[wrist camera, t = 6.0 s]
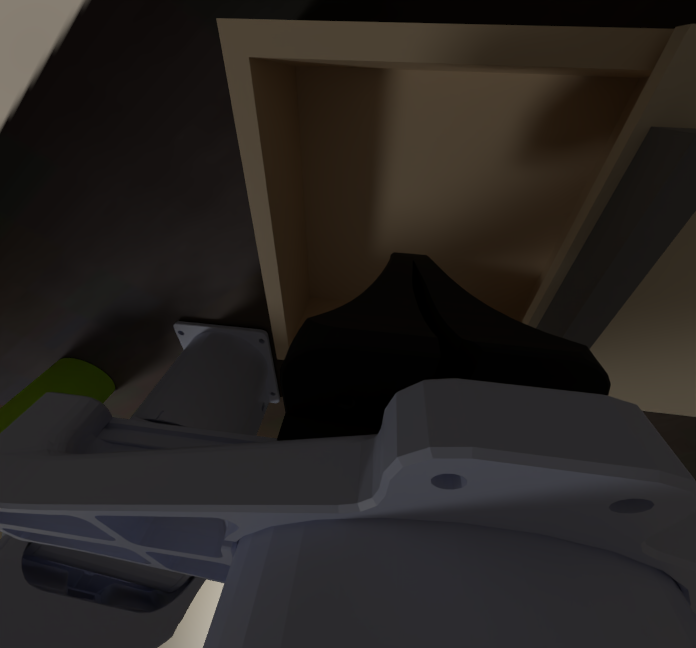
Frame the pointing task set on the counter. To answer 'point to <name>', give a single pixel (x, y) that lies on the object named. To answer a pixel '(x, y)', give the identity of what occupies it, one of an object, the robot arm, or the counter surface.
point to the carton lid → (638, 248)
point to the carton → (422, 149)
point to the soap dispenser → (59, 387)
